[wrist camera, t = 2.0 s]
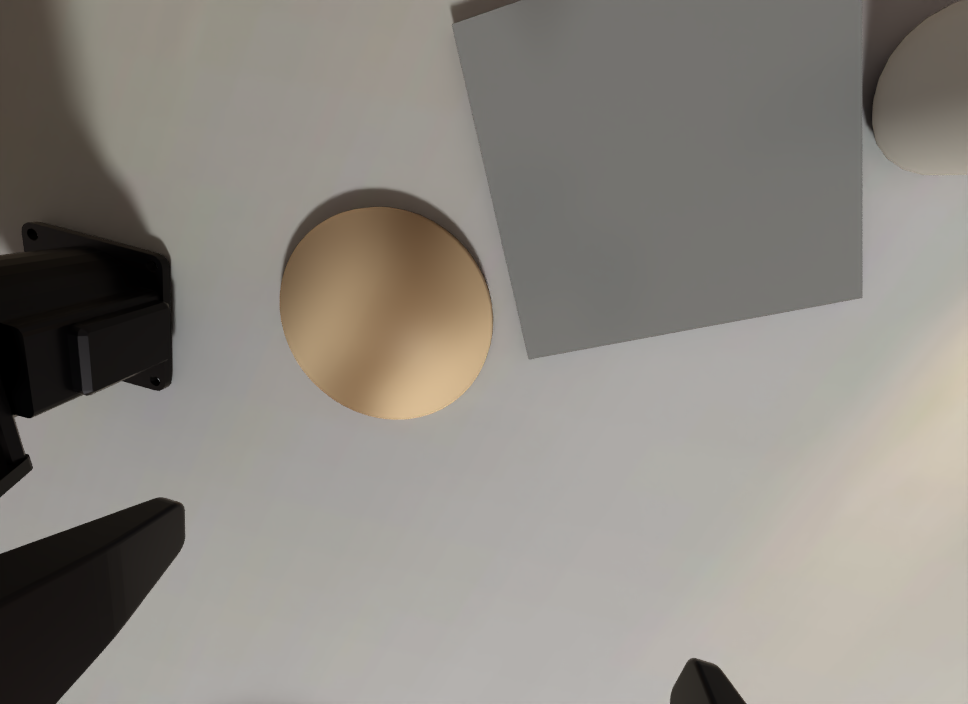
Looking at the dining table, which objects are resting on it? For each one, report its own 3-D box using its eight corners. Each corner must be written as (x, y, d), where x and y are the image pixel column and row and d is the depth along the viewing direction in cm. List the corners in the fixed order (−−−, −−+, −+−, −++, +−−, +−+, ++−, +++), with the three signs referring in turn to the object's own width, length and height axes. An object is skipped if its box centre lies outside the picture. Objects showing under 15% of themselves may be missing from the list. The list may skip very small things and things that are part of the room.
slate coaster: (529, 354, 19) (528, 359, 19) (455, 30, 16) (451, 24, 15) (852, 294, 17) (862, 297, 16) (849, -105, 13) (861, -118, 13)
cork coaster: (280, 384, 22) (273, 389, 21) (295, 182, 18) (287, 182, 18) (467, 435, 21) (465, 442, 21) (516, 238, 18) (515, 239, 17)
